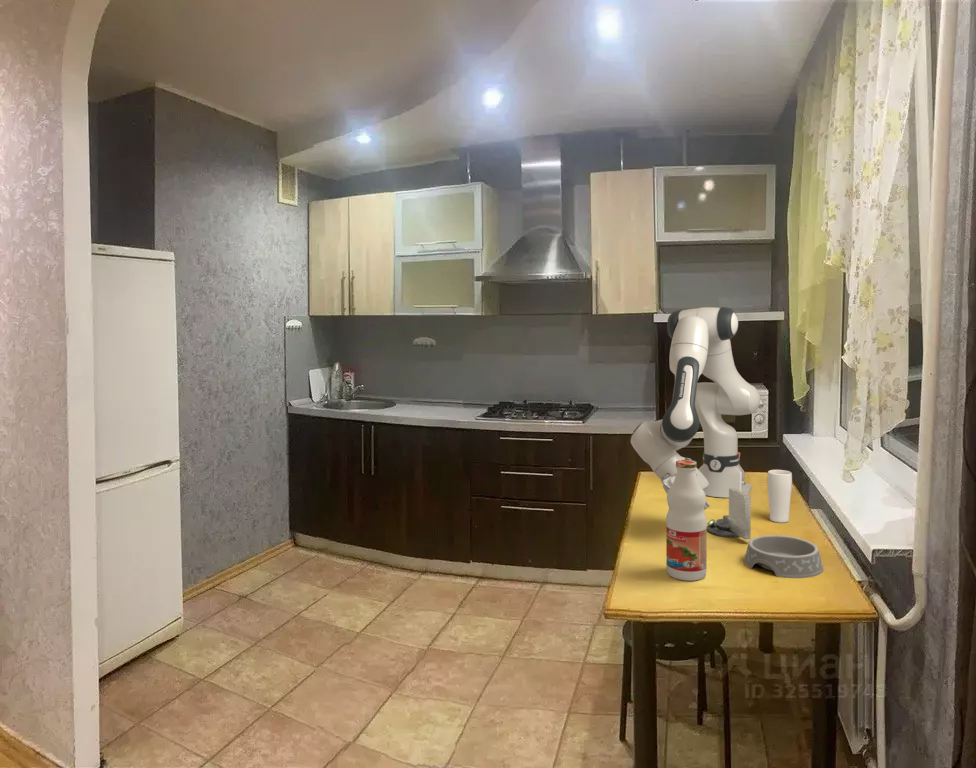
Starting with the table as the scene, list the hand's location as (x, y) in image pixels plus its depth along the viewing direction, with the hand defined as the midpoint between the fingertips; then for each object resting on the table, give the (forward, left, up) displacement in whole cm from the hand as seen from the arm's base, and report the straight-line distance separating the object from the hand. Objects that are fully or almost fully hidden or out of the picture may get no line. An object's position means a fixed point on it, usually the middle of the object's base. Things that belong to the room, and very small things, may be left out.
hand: (706, 508), depth 190 cm
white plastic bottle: (+30, +5, -9) cm, 31 cm away
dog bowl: (+11, +23, -9) cm, 27 cm away
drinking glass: (-26, +13, -9) cm, 31 cm away
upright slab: (-5, +6, -7) cm, 11 cm away
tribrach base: (-8, +3, -8) cm, 12 cm away
